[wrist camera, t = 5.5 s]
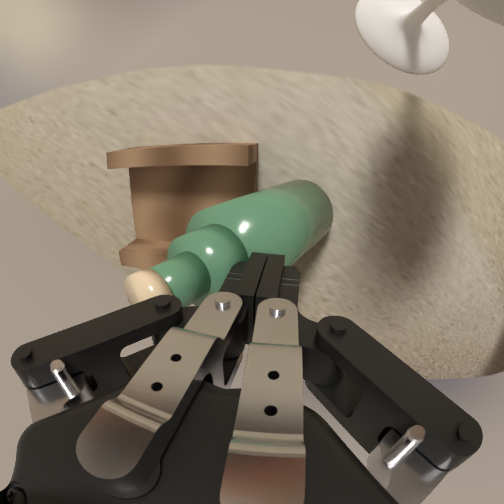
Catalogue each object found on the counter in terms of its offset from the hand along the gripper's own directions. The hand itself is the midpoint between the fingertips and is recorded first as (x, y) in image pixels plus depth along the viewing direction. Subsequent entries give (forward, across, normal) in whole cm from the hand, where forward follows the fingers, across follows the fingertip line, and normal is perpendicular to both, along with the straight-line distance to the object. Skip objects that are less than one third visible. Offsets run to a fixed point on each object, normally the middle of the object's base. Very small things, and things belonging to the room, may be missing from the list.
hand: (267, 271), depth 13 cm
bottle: (+10, -1, 0) cm, 10 cm away
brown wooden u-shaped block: (+11, +8, 0) cm, 14 cm away
